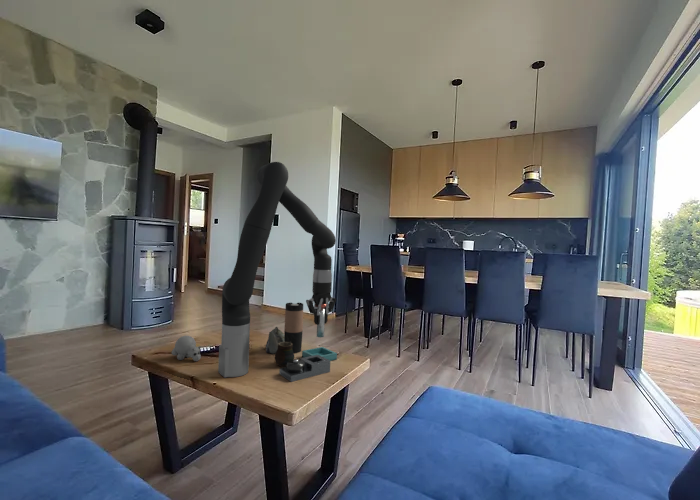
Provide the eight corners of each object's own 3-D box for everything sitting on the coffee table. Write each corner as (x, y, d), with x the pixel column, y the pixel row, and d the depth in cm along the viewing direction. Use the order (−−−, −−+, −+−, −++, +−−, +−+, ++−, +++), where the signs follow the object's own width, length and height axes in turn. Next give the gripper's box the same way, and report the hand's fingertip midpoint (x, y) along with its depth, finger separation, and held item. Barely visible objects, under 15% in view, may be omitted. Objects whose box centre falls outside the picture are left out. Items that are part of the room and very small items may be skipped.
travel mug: (292, 354, 138) (294, 306, 138) (279, 350, 143) (281, 303, 143) (305, 350, 144) (307, 304, 144) (293, 346, 149) (294, 301, 149)
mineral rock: (280, 343, 153) (281, 321, 153) (296, 348, 147) (297, 325, 146) (256, 350, 143) (257, 326, 143) (273, 355, 136) (274, 331, 136)
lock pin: (319, 338, 132) (320, 304, 132) (313, 335, 135) (314, 303, 135) (327, 336, 135) (328, 303, 135) (321, 334, 138) (322, 302, 138)
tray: (315, 364, 128) (316, 357, 128) (301, 356, 136) (302, 350, 136) (336, 359, 135) (336, 353, 135) (322, 352, 142) (322, 346, 142)
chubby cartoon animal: (187, 371, 123) (194, 351, 122) (167, 353, 128) (173, 334, 126) (203, 365, 130) (210, 346, 128) (183, 348, 134) (190, 330, 133)
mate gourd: (285, 360, 132) (287, 334, 132) (298, 365, 127) (299, 339, 127) (270, 364, 126) (271, 337, 126) (283, 370, 121) (284, 342, 121)
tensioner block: (291, 381, 111) (291, 365, 111) (279, 374, 117) (279, 358, 117) (330, 371, 121) (330, 356, 121) (317, 365, 128) (317, 350, 127)
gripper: (312, 282, 127) (311, 328, 128) (341, 281, 136) (340, 323, 137) (302, 280, 133) (300, 324, 134) (330, 279, 142) (329, 319, 143)
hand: (320, 323), depth 135 cm, fingers closed on lock pin, 3 cm apart
